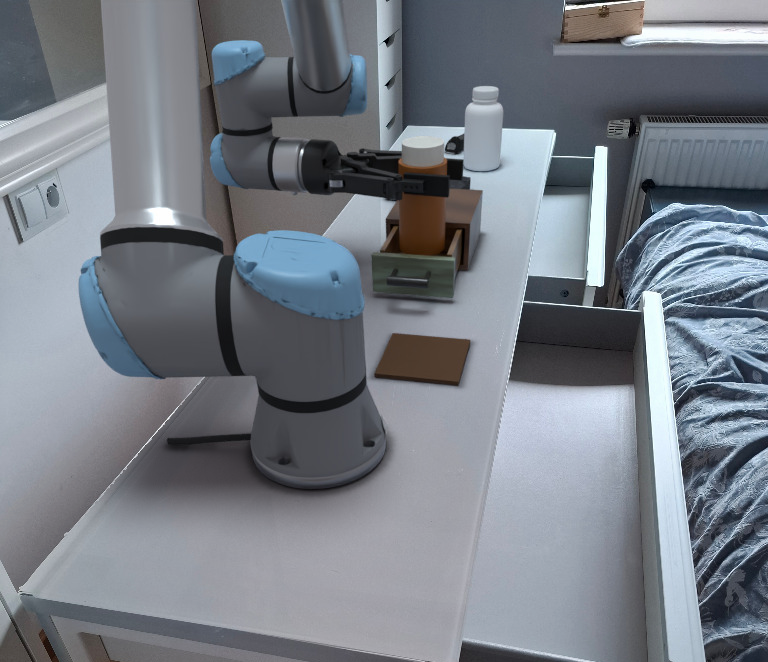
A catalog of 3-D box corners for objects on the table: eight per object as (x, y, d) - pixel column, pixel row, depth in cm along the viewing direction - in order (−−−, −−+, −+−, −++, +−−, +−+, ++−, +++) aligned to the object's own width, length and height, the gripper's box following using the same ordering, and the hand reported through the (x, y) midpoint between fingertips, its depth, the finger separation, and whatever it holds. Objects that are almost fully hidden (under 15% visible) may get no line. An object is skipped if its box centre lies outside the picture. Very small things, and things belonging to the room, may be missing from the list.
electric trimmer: (492, 139, 172) (493, 124, 170) (456, 154, 163) (457, 139, 161) (478, 137, 174) (479, 122, 172) (443, 152, 165) (443, 137, 163)
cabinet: (467, 270, 116) (470, 223, 111) (386, 265, 119) (385, 218, 114) (480, 234, 128) (482, 190, 123) (405, 230, 130) (405, 186, 125)
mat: (458, 385, 91) (458, 381, 90) (374, 377, 93) (374, 373, 93) (470, 343, 99) (470, 339, 98) (392, 336, 101) (392, 332, 100)
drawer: (448, 311, 104) (449, 272, 100) (366, 304, 106) (364, 266, 103) (466, 259, 118) (468, 223, 114) (393, 254, 120) (392, 219, 116)
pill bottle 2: (487, 158, 160) (492, 82, 150) (506, 168, 155) (512, 90, 145) (456, 164, 158) (459, 87, 148) (474, 174, 152) (478, 94, 142)
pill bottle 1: (407, 258, 108) (407, 151, 98) (393, 242, 113) (391, 138, 103) (451, 252, 109) (455, 145, 99) (435, 236, 114) (437, 133, 104)
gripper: (335, 173, 118) (471, 183, 112) (284, 214, 104) (436, 229, 98) (331, 122, 113) (473, 131, 107) (277, 159, 99) (437, 171, 93)
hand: (455, 178), depth 102 cm, fingers closed on pill bottle 1, 7 cm apart
